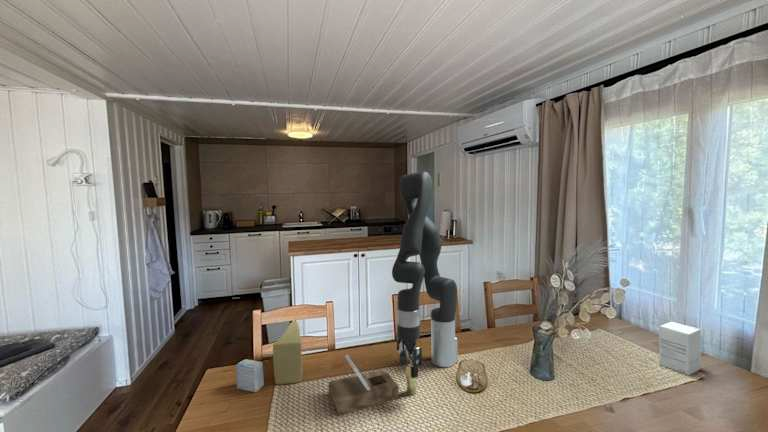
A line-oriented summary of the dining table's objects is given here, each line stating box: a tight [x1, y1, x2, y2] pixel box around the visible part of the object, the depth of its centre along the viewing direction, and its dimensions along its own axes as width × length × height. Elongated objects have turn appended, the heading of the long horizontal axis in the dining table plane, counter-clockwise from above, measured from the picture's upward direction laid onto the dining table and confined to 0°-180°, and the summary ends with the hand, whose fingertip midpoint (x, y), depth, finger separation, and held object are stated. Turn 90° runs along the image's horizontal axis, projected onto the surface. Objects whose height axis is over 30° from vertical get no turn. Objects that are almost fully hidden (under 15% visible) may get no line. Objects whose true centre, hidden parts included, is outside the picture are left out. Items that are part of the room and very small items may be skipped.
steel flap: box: [344, 353, 370, 391], centre depth 103 cm, size 9×10×1 cm
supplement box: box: [658, 321, 702, 376], centre depth 117 cm, size 9×9×15 cm
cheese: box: [272, 320, 303, 385], centre depth 122 cm, size 22×10×15 cm, turn 8°
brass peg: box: [405, 363, 417, 397], centre depth 105 cm, size 3×3×9 cm
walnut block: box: [328, 368, 400, 416], centre depth 104 cm, size 20×12×4 cm, turn 113°
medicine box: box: [235, 358, 265, 393], centre depth 110 cm, size 8×4×9 cm, turn 71°
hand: (408, 370), depth 105 cm, fingers open, 8 cm apart
